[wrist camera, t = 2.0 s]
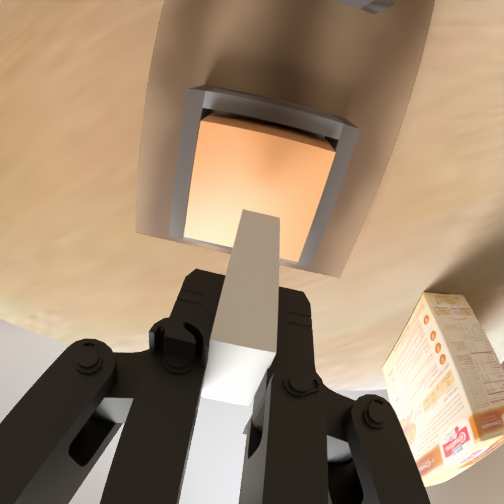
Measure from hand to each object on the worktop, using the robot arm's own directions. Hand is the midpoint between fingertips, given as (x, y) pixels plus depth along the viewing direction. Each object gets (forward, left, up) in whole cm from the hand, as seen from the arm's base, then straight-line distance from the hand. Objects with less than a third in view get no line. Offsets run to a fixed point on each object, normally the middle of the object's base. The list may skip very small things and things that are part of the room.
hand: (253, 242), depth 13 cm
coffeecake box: (+26, -17, -15) cm, 34 cm away
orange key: (0, 0, -8) cm, 8 cm away
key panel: (0, +9, -14) cm, 17 cm away
